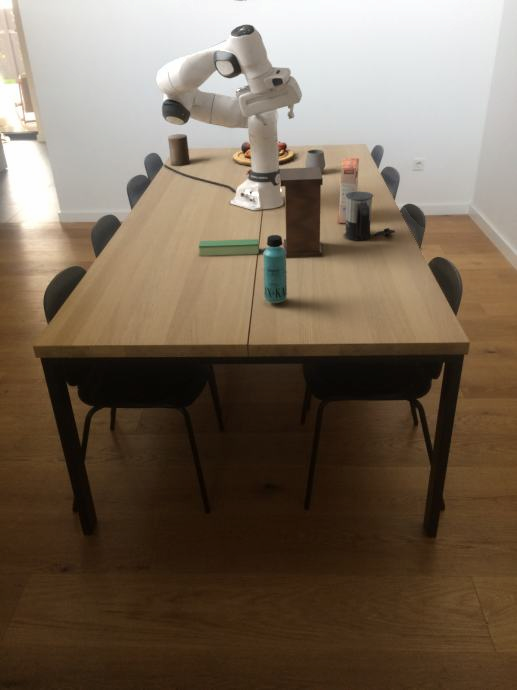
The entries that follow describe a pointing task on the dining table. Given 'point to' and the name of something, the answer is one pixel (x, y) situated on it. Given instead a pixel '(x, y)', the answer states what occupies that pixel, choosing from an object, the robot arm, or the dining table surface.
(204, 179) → the robot arm
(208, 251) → the green rectangular bar
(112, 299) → the dining table surface
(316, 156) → the cup
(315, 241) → the walnut stand
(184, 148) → the pillar candle
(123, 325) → the dining table surface
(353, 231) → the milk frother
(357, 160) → the cracker box
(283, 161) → the wooden plate
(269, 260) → the beverage bottle
